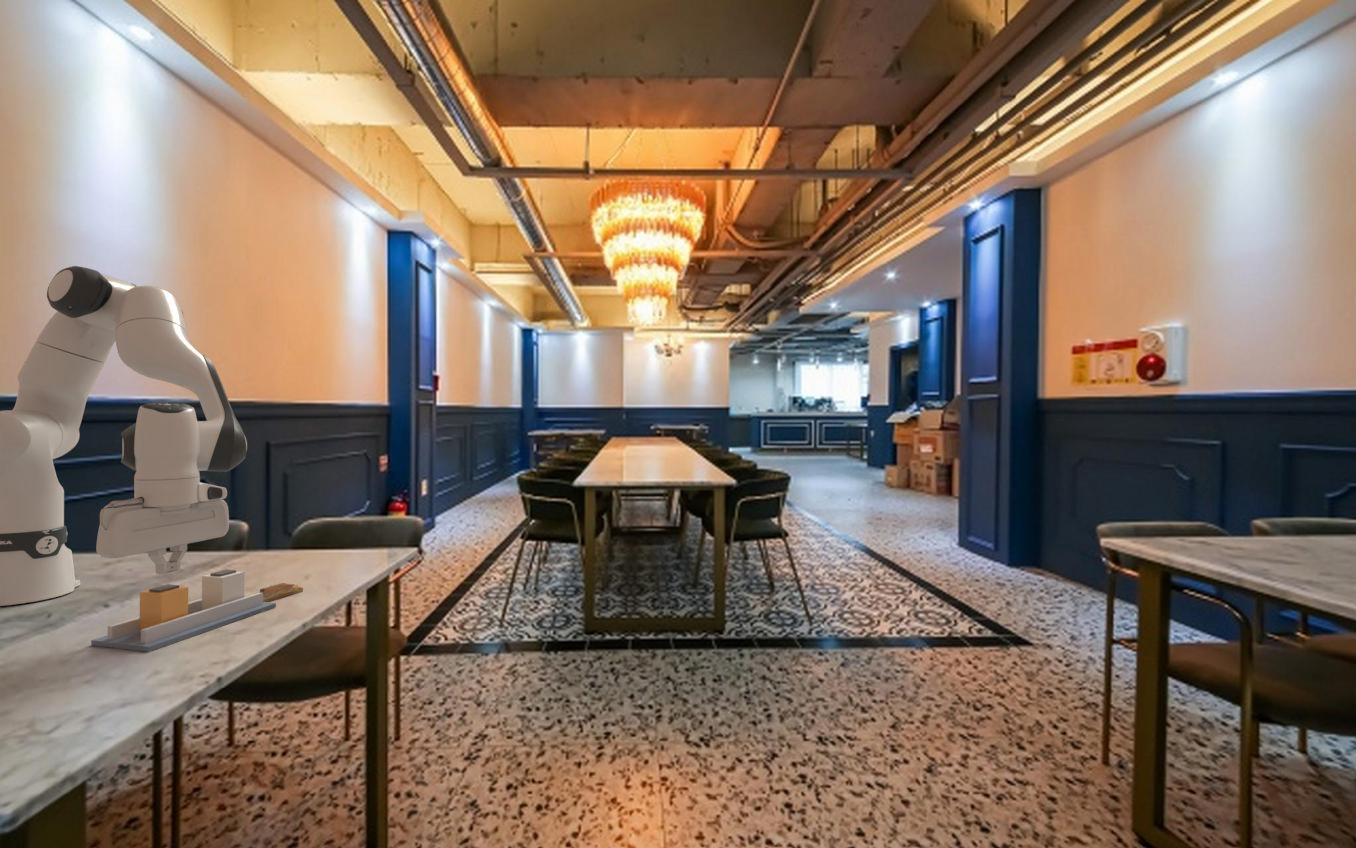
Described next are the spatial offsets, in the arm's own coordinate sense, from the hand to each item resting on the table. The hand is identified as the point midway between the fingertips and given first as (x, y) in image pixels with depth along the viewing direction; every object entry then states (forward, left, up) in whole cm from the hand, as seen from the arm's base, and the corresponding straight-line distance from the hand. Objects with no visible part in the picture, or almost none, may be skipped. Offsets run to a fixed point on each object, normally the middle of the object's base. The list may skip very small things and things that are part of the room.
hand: (168, 572), depth 106 cm
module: (0, 0, -10) cm, 10 cm away
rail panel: (0, +5, -11) cm, 12 cm away
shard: (0, +24, -12) cm, 26 cm away
